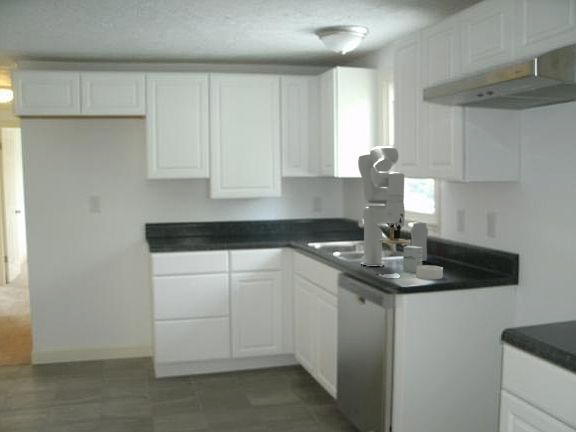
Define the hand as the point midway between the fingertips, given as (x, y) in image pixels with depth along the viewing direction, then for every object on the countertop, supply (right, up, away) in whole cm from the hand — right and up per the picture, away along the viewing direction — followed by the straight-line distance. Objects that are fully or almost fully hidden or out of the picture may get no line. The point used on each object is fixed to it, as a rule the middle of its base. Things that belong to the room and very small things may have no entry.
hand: (394, 237), depth 284 cm
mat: (0, -19, +1) cm, 19 cm away
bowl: (+16, -19, -1) cm, 25 cm away
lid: (0, -2, 0) cm, 2 cm away
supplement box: (+12, -18, +17) cm, 28 cm away
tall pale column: (+23, -16, +52) cm, 59 cm away
